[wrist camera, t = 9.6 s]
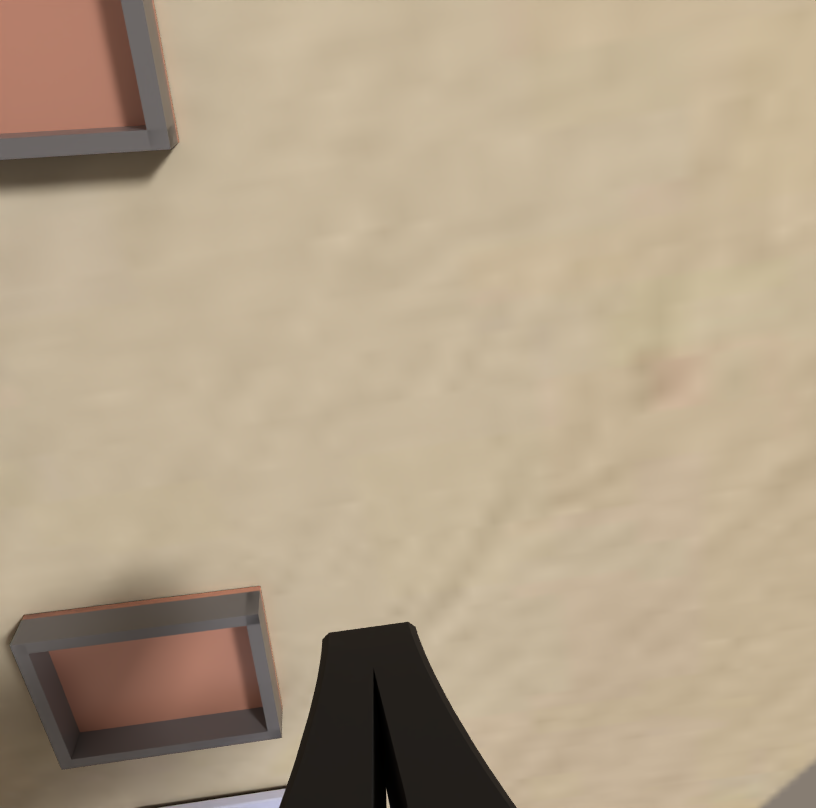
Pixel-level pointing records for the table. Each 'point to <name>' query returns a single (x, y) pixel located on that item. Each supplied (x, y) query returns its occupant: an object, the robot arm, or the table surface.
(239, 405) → the table surface
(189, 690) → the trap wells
